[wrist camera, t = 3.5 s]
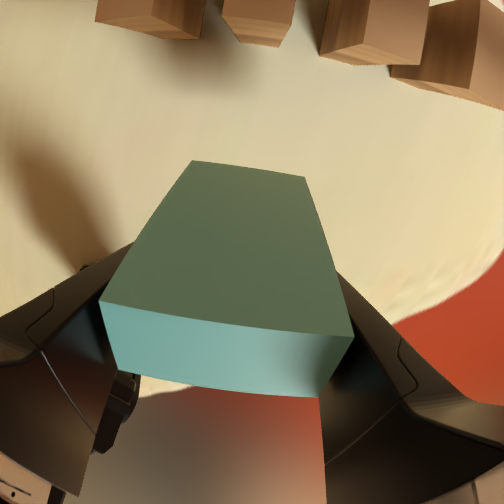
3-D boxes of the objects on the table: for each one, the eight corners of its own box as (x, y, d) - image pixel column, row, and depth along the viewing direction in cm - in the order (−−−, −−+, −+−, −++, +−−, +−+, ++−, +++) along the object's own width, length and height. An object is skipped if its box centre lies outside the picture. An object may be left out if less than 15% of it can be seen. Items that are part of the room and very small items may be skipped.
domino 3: (354, 65, 16) (419, 65, 8) (319, 55, 16) (362, 43, 8) (365, 1, 13) (432, -34, 6) (330, -9, 13) (377, -58, 5)
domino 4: (419, 88, 16) (503, 111, 9) (390, 77, 16) (468, 89, 8) (430, 28, 13) (515, 22, 6) (401, 15, 13) (480, -5, 6)
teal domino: (304, 176, 13) (354, 336, 6) (293, 223, 14) (317, 397, 7) (192, 160, 13) (98, 300, 5) (188, 208, 14) (118, 369, 7)
